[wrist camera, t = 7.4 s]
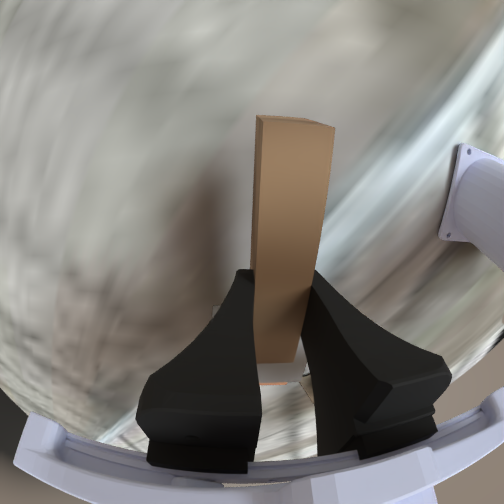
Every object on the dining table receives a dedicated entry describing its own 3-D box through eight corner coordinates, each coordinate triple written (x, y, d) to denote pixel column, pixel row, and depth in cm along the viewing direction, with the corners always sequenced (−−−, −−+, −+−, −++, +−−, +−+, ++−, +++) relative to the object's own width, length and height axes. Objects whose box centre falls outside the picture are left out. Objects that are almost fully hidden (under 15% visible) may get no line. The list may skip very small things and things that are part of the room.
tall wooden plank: (206, 114, 10) (188, 121, 7) (349, 124, 10) (395, 138, 7) (219, 373, 19) (216, 420, 15) (299, 372, 19) (306, 418, 16)
